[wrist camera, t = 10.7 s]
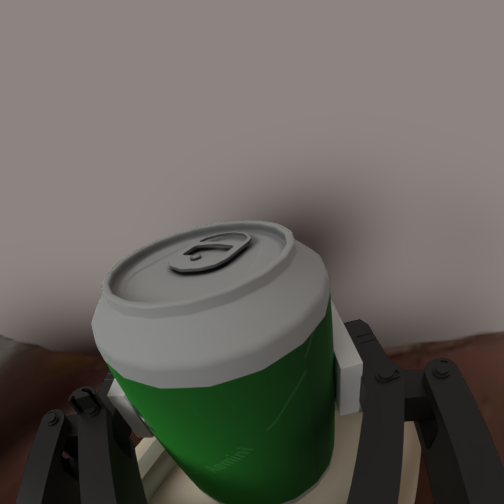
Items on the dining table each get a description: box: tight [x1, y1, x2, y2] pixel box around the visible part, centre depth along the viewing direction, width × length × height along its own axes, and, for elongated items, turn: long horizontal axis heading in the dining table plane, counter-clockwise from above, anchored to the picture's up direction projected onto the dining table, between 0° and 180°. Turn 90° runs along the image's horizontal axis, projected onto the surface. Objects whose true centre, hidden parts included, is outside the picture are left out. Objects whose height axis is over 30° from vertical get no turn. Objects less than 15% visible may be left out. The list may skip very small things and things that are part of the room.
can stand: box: [135, 401, 421, 504], centre depth 14 cm, size 18×14×4 cm
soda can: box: [91, 220, 335, 504], centre depth 11 cm, size 8×8×12 cm
